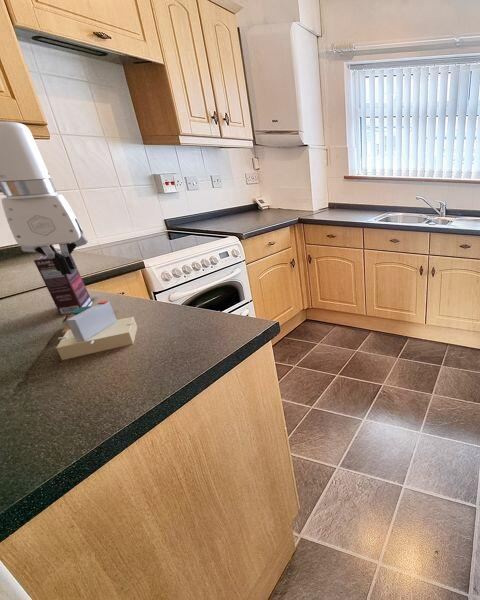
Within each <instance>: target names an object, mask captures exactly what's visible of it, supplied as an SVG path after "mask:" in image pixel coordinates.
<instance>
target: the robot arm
mask: <svg viewBox="0 0 480 600" xmlns="http://www.w3.org/2000/svg"><path fill="white" fill-rule="evenodd" d="M0 193H1V194H3V195H4V196H5V197H3V198H1V199H0V200H1V204H2V209H3V212H4V215H5V219H6V221H7V224H8V226H9V229H10V232H11V234H12V236H13V238H14V241H15V242H16V244H17V245H18V246H19V247H20V248H21V249H20V250H21V251H23V253H39V254H40V255H45V256H47V257H48V258H50V259H52V261H53V263H54V265H55V267H56V269H57V271H60V272H61V274H62V275H66V274H72V273H73V272H74V271H75V269H76V267H77V264H76V263H74V262H75V260H74V258H73V256H72V253H73V252H74V251H75V249H76V248H80V247H82V246H84V245H87V244H88V242H89V240H88V239H87V238H86V237H85V235H84V231H83V228H82V225H81V223H80V222H79V220H78V218H77V216H76V215H75V212H74V211H73V209H72V207H71V206H70V204H69V202H68V201H67V200H66V198H65V196H64V195H63V194H62V193H58V191H57V189H56V187H55V184H54V182H53V180H52V178H51V175H50V173H49V170H48V168H47V166H46V163H45V162H44V158H43V157H42V154H41V152H40V150H39V147H38V145H37V142H36V141H35V138H34V136H33V134H32V131H31V130H30V128H29V127H28V126H27V125H26V124H23V123H20V122H16V121H7V120H6V121H5V120H4V121H3V120H0ZM54 245H58V246H59V251H60V250H61V255H60V254H59V253H58V252H57V251H58V250H57V248H56V247H55V246H54ZM73 260H74V261H73Z"/></svg>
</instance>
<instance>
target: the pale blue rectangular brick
mask: <svg viewBox="0 0 480 600" xmlns="http://www.w3.org/2000/svg"><path fill="white" fill-rule="evenodd" d="M66 319H67V318H66ZM117 320H118V319H117V316H116V314H115V312H114V310H113V307H112V305H111V302H110V301H108V300H101V301H99V302H97V303H96V304H95V305H93V306H92V307H91V308H89V309H87V310H85V311H83V312H81V313H79V314H77V315H75V316H73V317H71V318H69V319H67V320H66V322H67V324H68V325H69V327H70V329H71V331H72V333H73V335H74V337H75V340H76V341H86V340H87V339H89V338H91V337H92V336H94V335H95V334H97V333H99V332H100V331H102V330H104V329H105V328H107V327H108V326H110V325H112V324H113V323H115V322H117Z"/></svg>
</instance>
